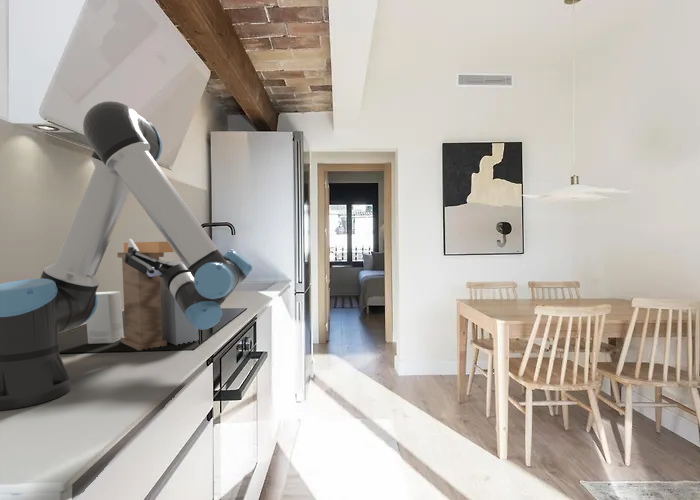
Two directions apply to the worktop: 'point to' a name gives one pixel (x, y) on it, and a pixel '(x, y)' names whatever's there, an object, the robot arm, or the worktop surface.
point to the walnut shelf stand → (141, 307)
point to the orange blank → (151, 247)
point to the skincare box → (106, 319)
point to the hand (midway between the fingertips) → (155, 242)
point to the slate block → (174, 320)
